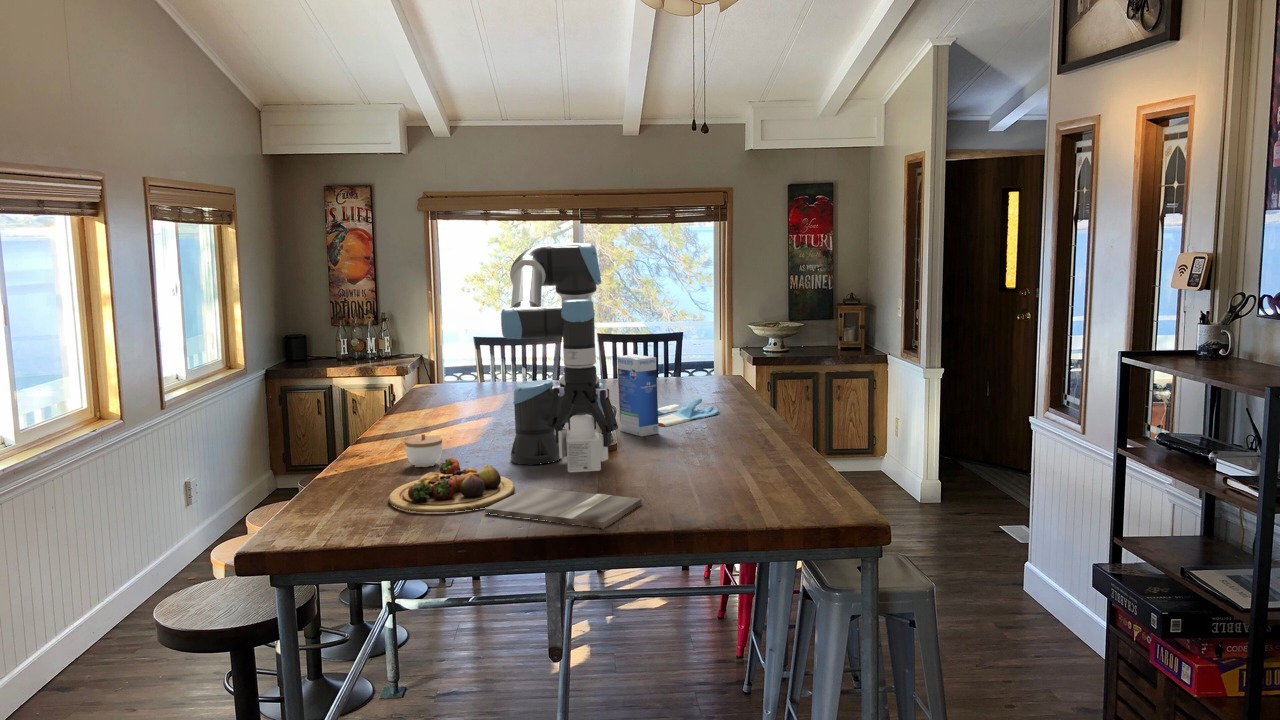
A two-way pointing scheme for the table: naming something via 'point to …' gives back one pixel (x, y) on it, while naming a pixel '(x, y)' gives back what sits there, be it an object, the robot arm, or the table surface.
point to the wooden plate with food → (453, 490)
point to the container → (583, 443)
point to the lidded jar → (424, 450)
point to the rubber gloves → (684, 413)
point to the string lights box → (638, 394)
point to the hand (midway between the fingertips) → (583, 458)
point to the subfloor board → (565, 507)
